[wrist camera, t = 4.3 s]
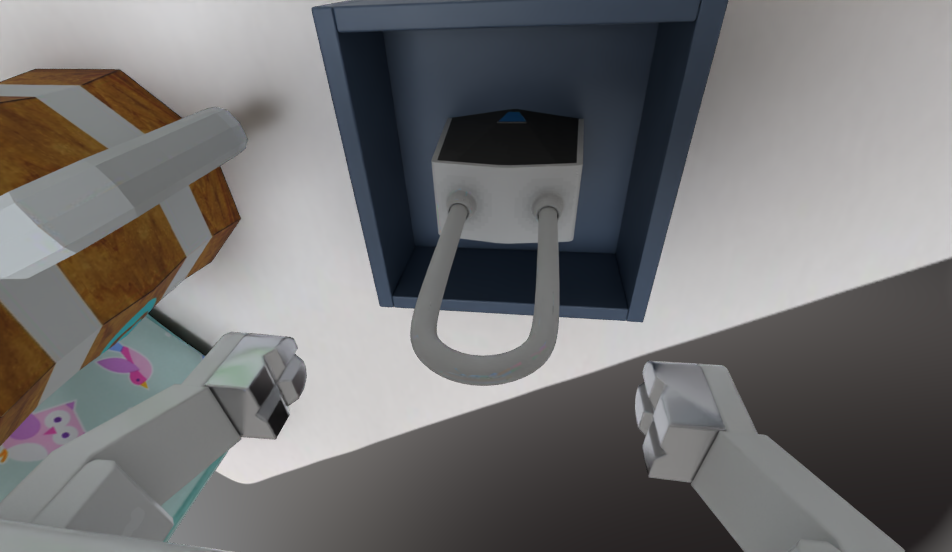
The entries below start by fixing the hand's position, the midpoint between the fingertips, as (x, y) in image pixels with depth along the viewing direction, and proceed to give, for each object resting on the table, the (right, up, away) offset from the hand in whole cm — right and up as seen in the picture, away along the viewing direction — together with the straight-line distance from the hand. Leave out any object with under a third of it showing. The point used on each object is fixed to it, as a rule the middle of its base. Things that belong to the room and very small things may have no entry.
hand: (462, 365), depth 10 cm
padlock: (+2, +9, +12) cm, 15 cm away
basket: (+2, +9, +12) cm, 15 cm away
